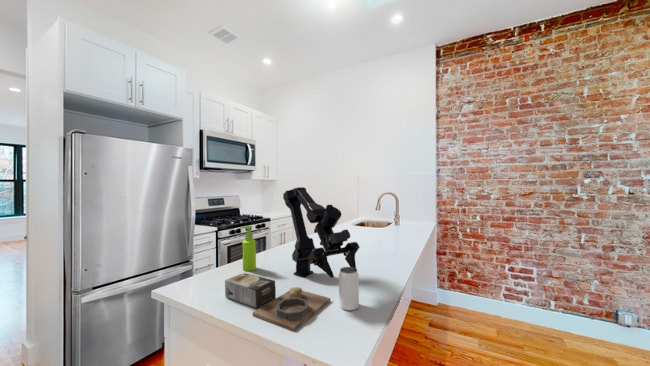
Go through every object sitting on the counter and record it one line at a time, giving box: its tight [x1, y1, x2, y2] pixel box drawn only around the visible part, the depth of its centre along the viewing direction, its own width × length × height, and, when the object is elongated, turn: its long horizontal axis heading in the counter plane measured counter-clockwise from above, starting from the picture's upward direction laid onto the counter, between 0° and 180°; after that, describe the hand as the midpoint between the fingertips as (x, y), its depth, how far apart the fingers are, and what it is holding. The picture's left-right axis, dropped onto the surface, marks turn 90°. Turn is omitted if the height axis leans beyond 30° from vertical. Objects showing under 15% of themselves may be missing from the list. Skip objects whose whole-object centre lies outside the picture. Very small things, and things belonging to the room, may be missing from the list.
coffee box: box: [224, 272, 277, 309], centre depth 90 cm, size 9×6×16 cm
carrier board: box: [252, 286, 331, 332], centre depth 82 cm, size 20×16×3 cm
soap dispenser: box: [239, 225, 257, 272], centre depth 119 cm, size 6×7×20 cm
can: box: [338, 266, 360, 312], centre depth 83 cm, size 6×6×12 cm
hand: (344, 274), depth 85 cm, fingers open, 9 cm apart
